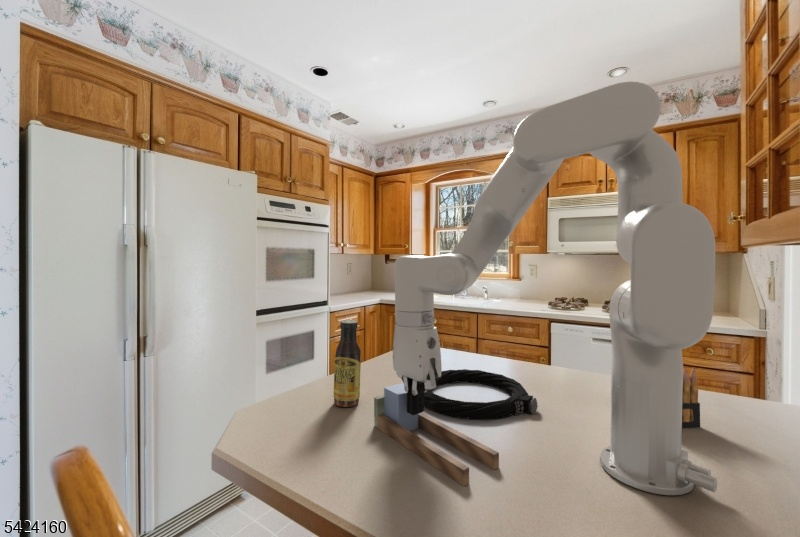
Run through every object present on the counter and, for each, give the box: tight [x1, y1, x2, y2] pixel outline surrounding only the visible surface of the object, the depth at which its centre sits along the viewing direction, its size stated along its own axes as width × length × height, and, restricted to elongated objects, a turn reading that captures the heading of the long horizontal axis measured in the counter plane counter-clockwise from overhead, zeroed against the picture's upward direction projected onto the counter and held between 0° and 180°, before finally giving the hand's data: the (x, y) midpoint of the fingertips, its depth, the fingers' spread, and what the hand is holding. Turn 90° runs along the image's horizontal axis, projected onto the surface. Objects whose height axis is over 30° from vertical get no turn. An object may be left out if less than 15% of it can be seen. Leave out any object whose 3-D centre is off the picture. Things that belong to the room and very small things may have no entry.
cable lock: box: [424, 368, 539, 420], centre depth 91 cm, size 28×4×30 cm
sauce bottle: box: [333, 319, 362, 408], centre depth 87 cm, size 6×6×20 cm
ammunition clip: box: [682, 367, 701, 429], centre depth 75 cm, size 11×2×12 cm, turn 93°
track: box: [373, 394, 500, 487], centre depth 68 cm, size 25×8×6 cm, turn 37°
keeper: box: [383, 382, 419, 432], centre depth 75 cm, size 5×5×8 cm
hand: (415, 412), depth 71 cm, fingers closed
